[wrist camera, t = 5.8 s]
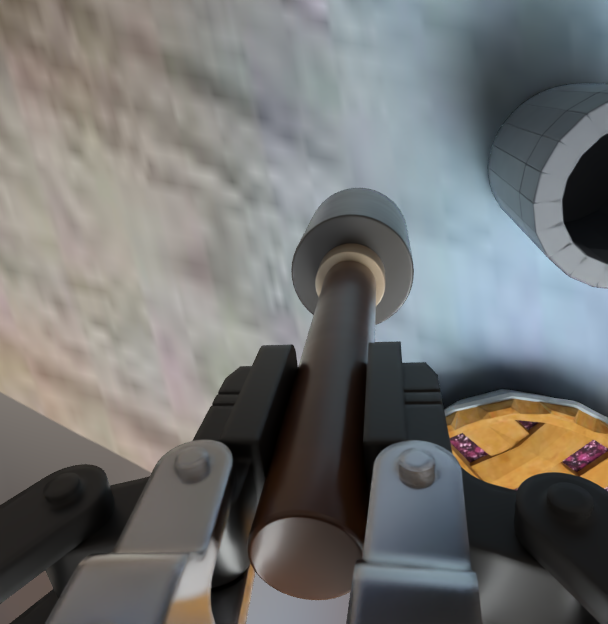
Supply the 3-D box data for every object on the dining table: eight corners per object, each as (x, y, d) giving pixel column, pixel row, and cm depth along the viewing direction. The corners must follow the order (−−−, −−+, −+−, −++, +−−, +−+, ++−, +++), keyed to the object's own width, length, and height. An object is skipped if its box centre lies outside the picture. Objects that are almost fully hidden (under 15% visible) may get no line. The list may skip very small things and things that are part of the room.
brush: (289, 241, 23) (109, 551, 8) (352, 166, 21) (279, 376, 6) (361, 300, 24) (325, 690, 9) (428, 232, 22) (534, 570, 7)
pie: (320, 488, 45) (313, 533, 40) (502, 318, 36) (519, 352, 31) (503, 610, 48) (515, 665, 43) (713, 482, 39) (756, 535, 34)
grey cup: (459, 168, 32) (491, 206, 22) (570, 50, 29) (668, 33, 19) (551, 253, 34) (621, 324, 24) (669, 150, 30) (808, 183, 20)
